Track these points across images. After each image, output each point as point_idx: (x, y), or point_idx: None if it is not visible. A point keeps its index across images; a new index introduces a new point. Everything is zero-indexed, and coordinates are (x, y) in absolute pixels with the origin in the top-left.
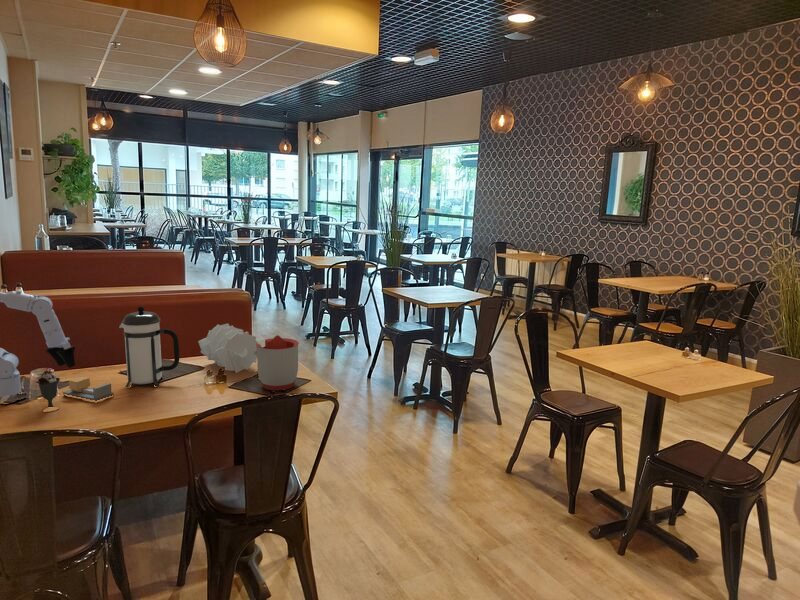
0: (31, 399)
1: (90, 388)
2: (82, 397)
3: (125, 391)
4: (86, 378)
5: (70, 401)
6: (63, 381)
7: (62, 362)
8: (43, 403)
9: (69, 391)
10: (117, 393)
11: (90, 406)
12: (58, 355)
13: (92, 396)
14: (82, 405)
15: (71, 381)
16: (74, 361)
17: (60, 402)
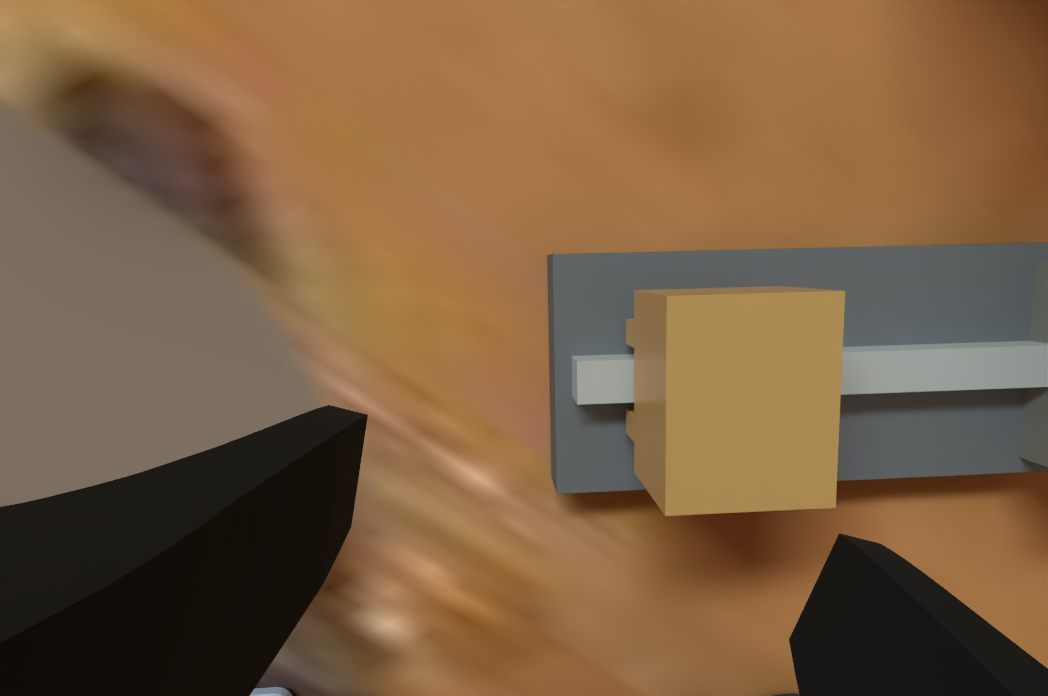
0: (346, 682)
1: (730, 257)
2: (857, 473)
3: (1033, 48)
4: (823, 328)
5: (752, 538)
6: (31, 119)
7: (334, 492)
8: (564, 692)
9: (600, 444)
10: (1001, 141)
11: (1039, 535)
12: (197, 673)
13: (971, 433)
14: (950, 553)
15: (721, 510)
16: (961, 608)
17: (688, 600)
